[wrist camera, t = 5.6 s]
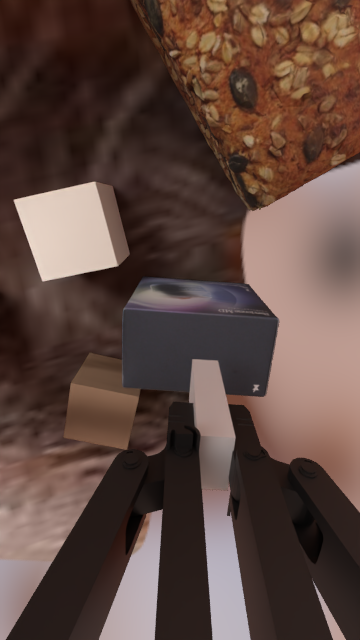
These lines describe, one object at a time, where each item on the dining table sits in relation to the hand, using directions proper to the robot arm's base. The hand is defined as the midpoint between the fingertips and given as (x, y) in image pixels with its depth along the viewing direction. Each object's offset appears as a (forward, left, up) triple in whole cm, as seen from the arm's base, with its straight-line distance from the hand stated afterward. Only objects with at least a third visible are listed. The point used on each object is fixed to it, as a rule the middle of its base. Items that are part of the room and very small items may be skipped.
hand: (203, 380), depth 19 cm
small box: (0, 0, -14) cm, 14 cm away
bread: (-20, +2, -14) cm, 24 cm away
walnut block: (+9, -8, -13) cm, 18 cm away
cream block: (-7, -10, -13) cm, 18 cm away
